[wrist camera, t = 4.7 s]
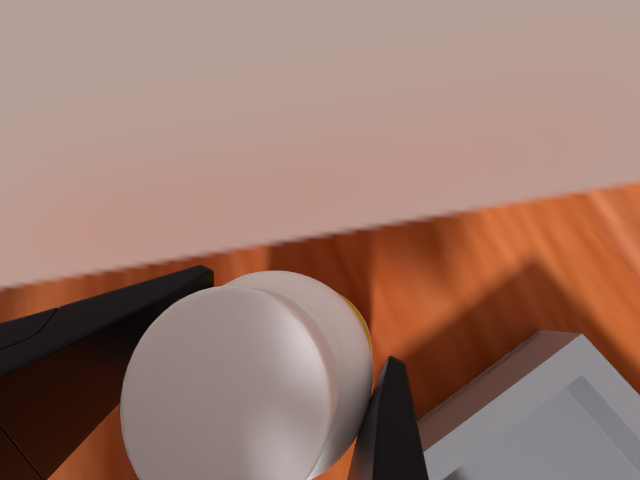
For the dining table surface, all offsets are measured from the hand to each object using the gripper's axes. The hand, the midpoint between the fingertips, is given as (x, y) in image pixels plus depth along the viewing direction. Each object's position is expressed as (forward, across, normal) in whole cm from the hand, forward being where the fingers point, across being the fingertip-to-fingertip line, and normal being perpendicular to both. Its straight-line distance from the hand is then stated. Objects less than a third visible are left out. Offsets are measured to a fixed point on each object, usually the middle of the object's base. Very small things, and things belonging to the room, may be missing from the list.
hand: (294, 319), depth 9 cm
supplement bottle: (+4, 0, +6) cm, 7 cm away
